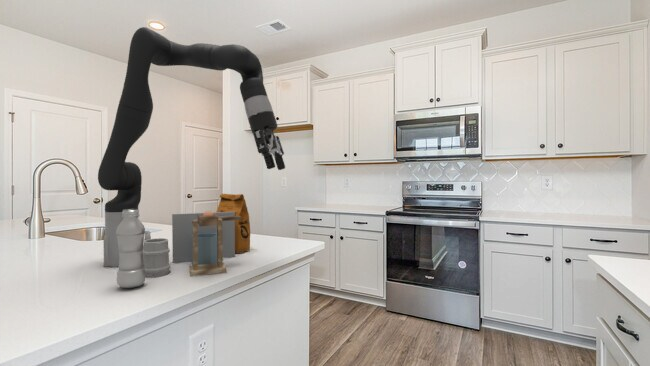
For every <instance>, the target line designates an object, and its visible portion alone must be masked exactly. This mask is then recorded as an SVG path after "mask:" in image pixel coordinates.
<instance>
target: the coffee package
mask: <svg viewBox="0 0 650 366" xmlns="http://www.w3.org/2000/svg"><path fill="white" fill-rule="evenodd" d="M219 198H220V200H219V203H218V206H217V208H216V212H235V216H241V220H235V254H241V253H242V252H243V253H246V252H249V251H250V250H251V225H250V215H249V210H248V207H247V203H246V202H247V201H246V199H245V195H244V194H243V193H240V194H232V193H231V194H230V193H221V194H220V195H219ZM243 253H242V254H243Z"/></svg>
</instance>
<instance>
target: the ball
mask: <svg viewBox="0 0 650 366" xmlns="http://www.w3.org/2000/svg"><path fill="white" fill-rule="evenodd" d="M203 213H204V214H203V217H209V216H214V214H213V212H212V211H211V210H206V211H204V212H203Z"/></svg>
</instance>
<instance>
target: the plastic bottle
mask: <svg viewBox="0 0 650 366" xmlns="http://www.w3.org/2000/svg"><path fill="white" fill-rule="evenodd" d="M122 217H124V219H123V221H122V222H121V223H120V224H119V226H118V227H117V231H116V234H117V240H118V245H119V267H118V270H117V275H116V281H117V282H116V283H117V285H118V286H119V288H121V289H132V288H137V287H139V286H142V285H144V283H145V282H146V280H147V279H146V278H147V277H146V272H145V267H144V260H143V244H144V238H145V231H146V228H145V225H144V224H143V222H142V221H141V220H140V219H139V217H140V209H139V208H138V209H125V210H123V215H122Z"/></svg>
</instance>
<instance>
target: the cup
mask: <svg viewBox="0 0 650 366" xmlns="http://www.w3.org/2000/svg"><path fill="white" fill-rule="evenodd" d="M190 262H191V266H193V235H192V236H191V261H190ZM212 263H217V233H201V234H198V265H203V264H212Z"/></svg>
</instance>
